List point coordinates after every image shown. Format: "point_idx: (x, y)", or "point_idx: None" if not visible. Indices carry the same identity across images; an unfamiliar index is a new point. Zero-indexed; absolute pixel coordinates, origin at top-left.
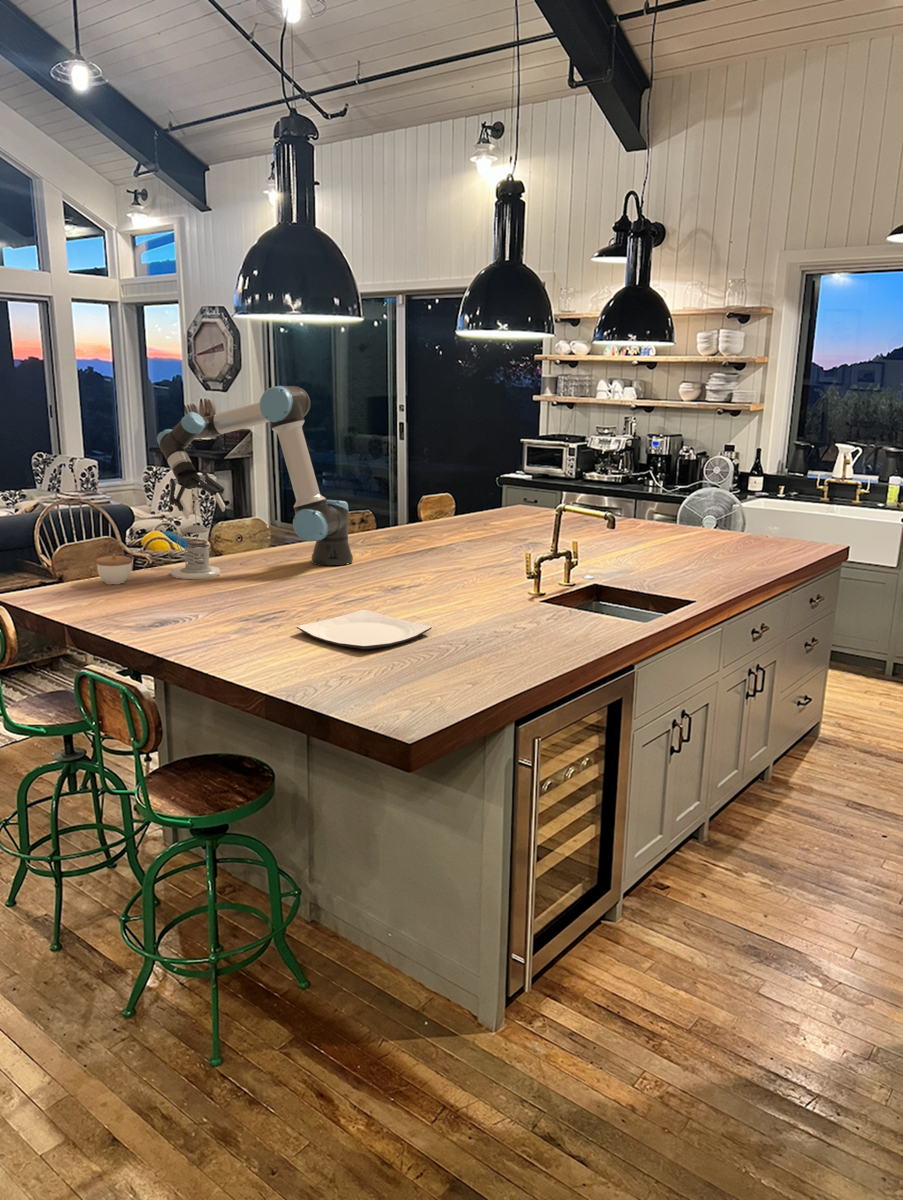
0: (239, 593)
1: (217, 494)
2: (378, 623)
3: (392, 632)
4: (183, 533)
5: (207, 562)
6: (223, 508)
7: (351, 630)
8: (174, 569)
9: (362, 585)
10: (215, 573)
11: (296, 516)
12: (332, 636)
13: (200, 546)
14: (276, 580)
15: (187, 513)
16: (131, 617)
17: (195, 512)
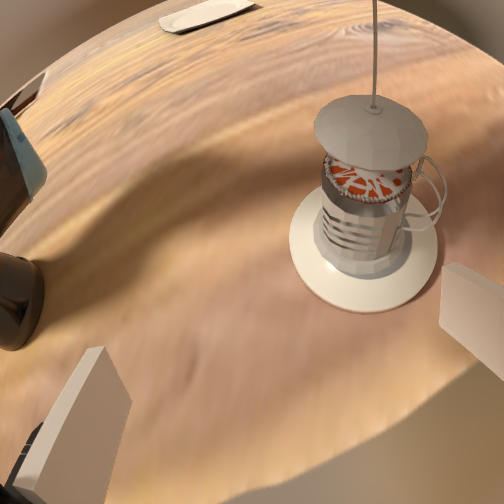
0: (279, 87)
1: (39, 468)
2: (179, 27)
3: (183, 19)
4: (427, 157)
5: (329, 197)
6: (113, 365)
7: (209, 16)
8: (429, 255)
9: (88, 129)
10: (308, 195)
11: (20, 128)
12: (231, 8)
13: (351, 221)
14: (179, 156)
15: (458, 264)
16: (422, 42)
17: (375, 52)
